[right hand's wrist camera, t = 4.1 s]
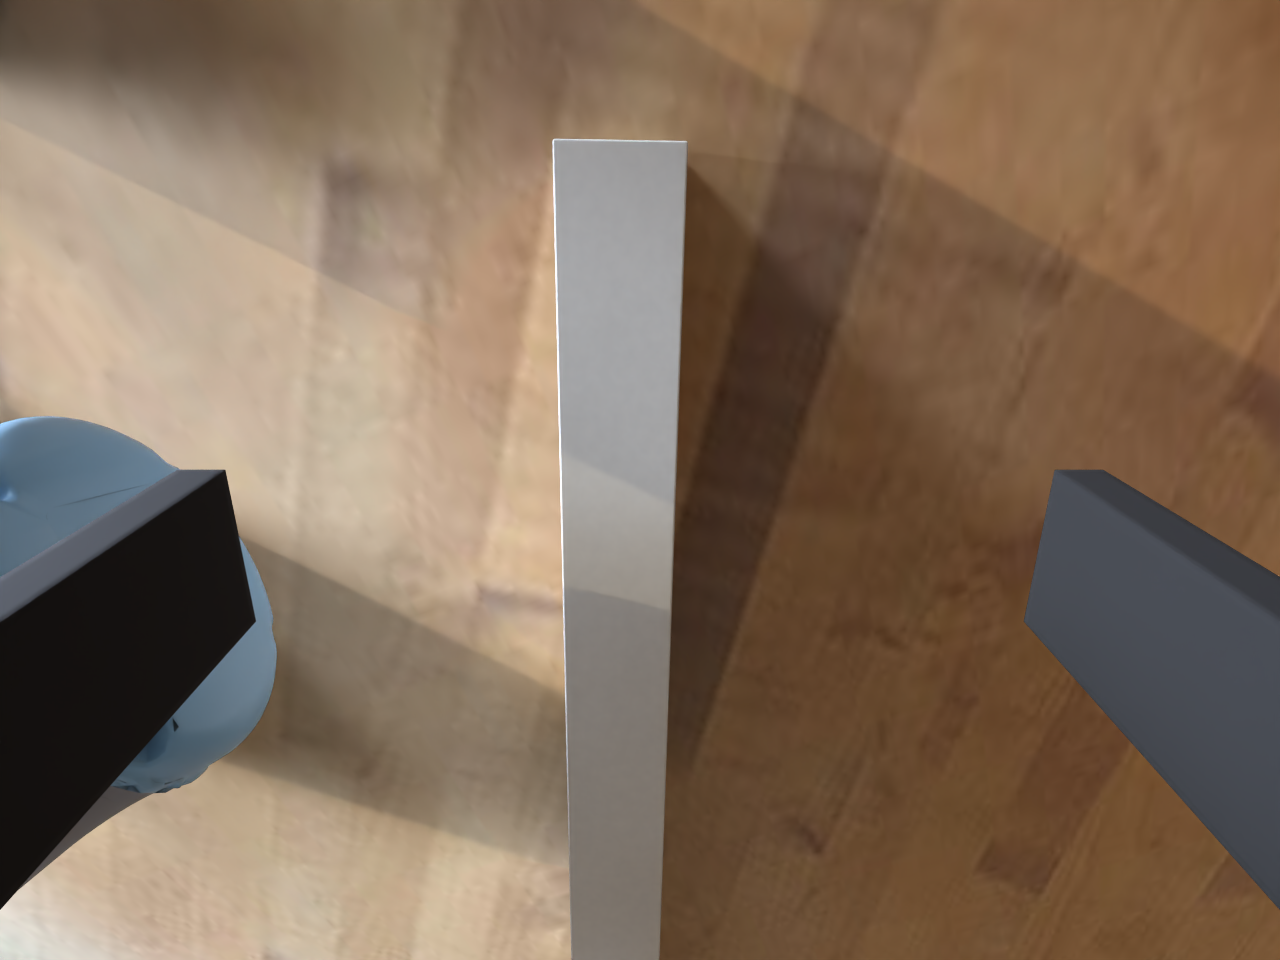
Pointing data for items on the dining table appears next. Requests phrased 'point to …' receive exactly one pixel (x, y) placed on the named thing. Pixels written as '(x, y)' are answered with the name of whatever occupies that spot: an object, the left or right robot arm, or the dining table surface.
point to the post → (618, 520)
